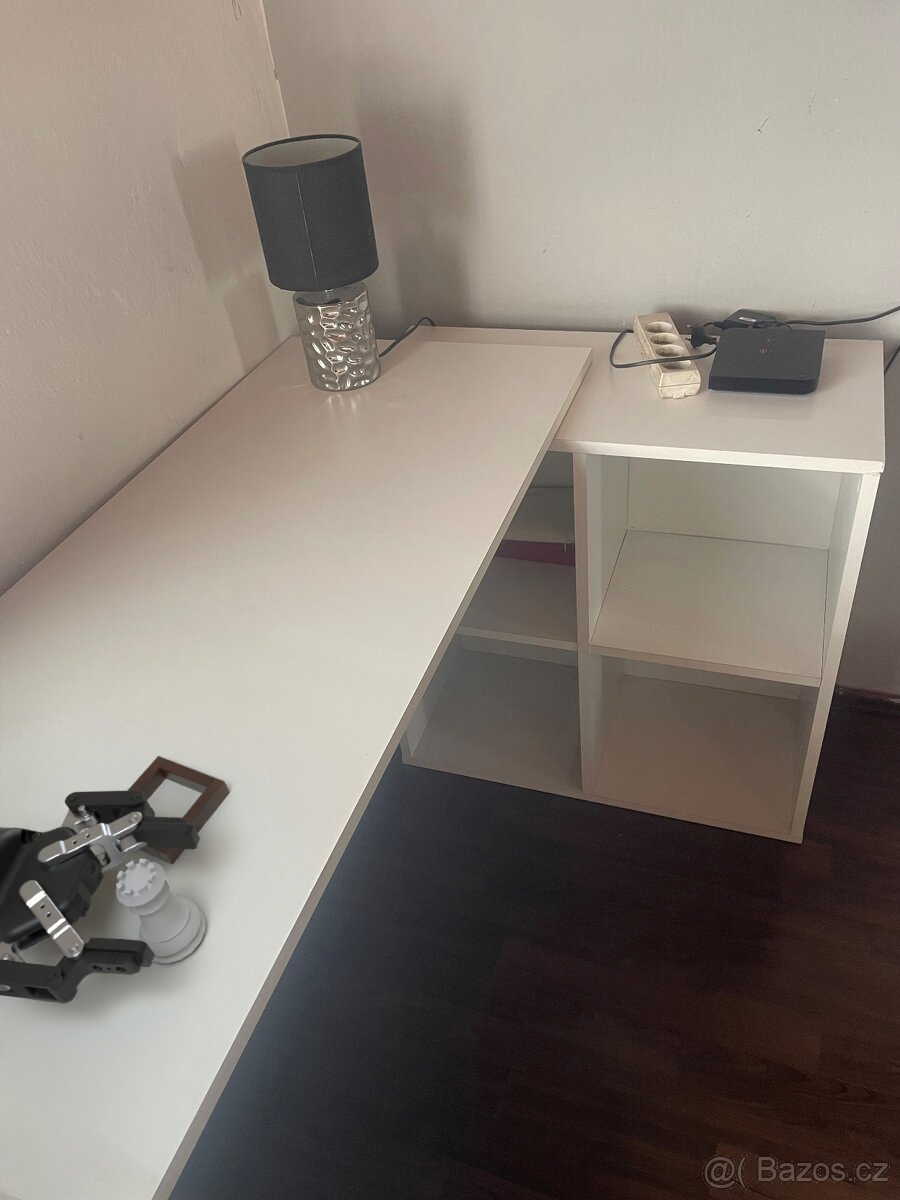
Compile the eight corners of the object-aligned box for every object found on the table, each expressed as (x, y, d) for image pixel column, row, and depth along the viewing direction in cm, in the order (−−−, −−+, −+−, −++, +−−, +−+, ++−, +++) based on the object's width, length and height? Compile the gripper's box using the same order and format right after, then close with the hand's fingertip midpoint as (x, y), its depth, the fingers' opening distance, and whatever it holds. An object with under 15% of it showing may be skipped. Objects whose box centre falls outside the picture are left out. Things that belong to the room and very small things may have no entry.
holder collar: (172, 864, 66) (165, 853, 65) (105, 834, 69) (97, 823, 68) (230, 791, 71) (224, 780, 70) (164, 766, 74) (158, 755, 73)
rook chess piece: (132, 955, 61) (86, 896, 56) (169, 899, 64) (129, 838, 59) (184, 975, 59) (141, 916, 54) (219, 916, 62) (182, 855, 57)
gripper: (-140, 956, 52) (106, 971, 49) (-17, 765, 63) (192, 768, 60) (-74, 1010, 57) (153, 1027, 54) (29, 825, 67) (225, 831, 65)
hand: (173, 891), depth 57 cm, fingers open, 8 cm apart
